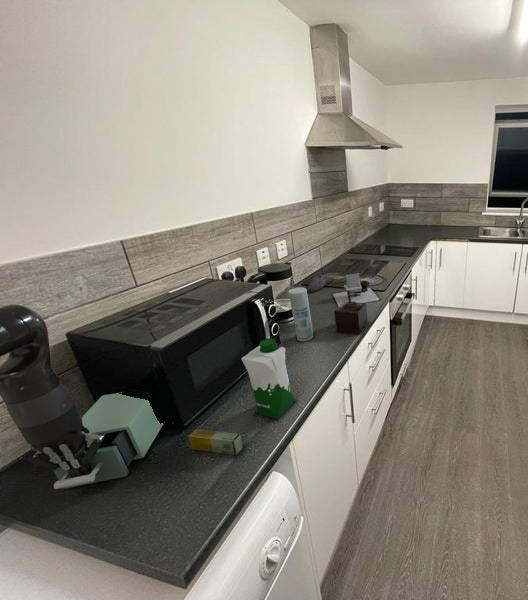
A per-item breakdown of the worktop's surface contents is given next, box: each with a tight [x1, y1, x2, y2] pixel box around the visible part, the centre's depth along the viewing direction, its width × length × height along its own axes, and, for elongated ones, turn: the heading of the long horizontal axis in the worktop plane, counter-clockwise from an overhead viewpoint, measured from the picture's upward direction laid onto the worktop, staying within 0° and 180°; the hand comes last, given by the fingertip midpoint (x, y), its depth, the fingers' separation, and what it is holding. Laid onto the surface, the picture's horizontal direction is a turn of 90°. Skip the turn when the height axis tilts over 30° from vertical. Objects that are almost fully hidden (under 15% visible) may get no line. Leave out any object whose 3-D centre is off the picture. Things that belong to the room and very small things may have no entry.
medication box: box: [188, 428, 244, 456], centre depth 76 cm, size 12×3×4 cm, turn 81°
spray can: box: [288, 286, 314, 342], centre depth 123 cm, size 6×6×20 cm
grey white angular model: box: [332, 272, 381, 307], centre depth 163 cm, size 19×21×12 cm
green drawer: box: [48, 430, 137, 490], centre depth 71 cm, size 18×11×8 cm, turn 14°
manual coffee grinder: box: [333, 279, 370, 335], centre depth 133 cm, size 16×11×18 cm
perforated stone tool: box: [307, 273, 326, 293], centre depth 176 cm, size 15×5×7 cm, turn 158°
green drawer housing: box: [82, 392, 164, 461], centre depth 79 cm, size 15×13×10 cm
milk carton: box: [240, 337, 295, 420], centre depth 86 cm, size 9×9×20 cm
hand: (84, 477), depth 66 cm, fingers closed
